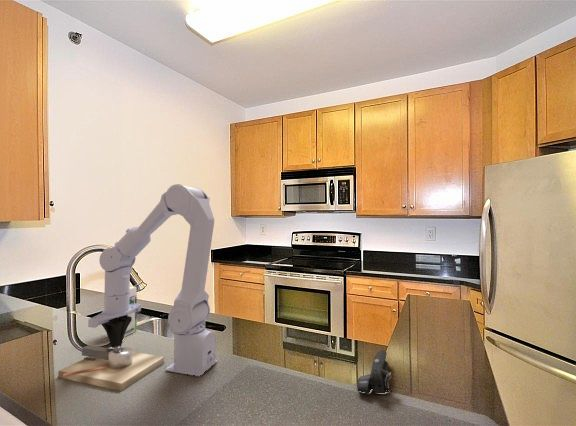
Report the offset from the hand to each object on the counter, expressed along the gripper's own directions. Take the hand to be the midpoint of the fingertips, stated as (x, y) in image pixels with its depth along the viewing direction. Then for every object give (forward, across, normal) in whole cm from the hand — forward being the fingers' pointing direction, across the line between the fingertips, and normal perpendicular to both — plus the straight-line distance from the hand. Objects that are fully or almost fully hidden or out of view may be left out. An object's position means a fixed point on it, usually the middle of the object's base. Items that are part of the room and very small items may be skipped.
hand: (116, 346), depth 79 cm
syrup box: (+3, -14, -12) cm, 18 cm away
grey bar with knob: (+1, +5, +3) cm, 6 cm away
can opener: (+3, -9, +65) cm, 66 cm away
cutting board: (+3, +5, +5) cm, 8 cm away
